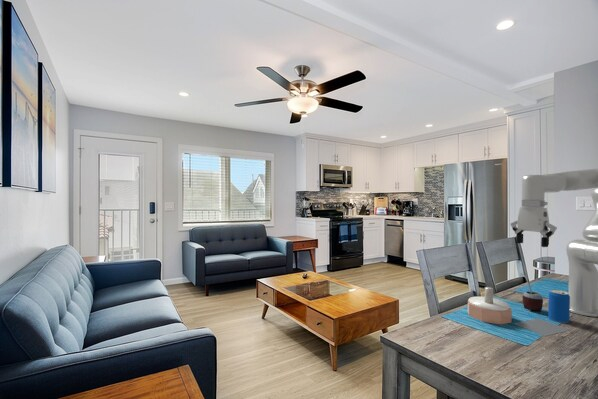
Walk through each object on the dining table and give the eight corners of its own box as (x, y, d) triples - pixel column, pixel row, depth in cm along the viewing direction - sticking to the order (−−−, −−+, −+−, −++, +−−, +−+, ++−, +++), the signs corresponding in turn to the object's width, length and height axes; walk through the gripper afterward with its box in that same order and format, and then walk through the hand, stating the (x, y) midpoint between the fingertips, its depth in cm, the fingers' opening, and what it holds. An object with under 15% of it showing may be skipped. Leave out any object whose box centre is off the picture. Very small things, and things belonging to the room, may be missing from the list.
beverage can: (573, 325, 117) (574, 295, 117) (554, 323, 119) (555, 293, 118) (562, 318, 124) (563, 289, 124) (544, 317, 125) (545, 288, 125)
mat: (538, 319, 122) (538, 318, 122) (570, 331, 112) (570, 329, 112) (513, 324, 117) (513, 323, 117) (544, 337, 107) (544, 336, 107)
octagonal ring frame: (484, 308, 134) (485, 296, 134) (518, 322, 120) (519, 308, 120) (460, 312, 129) (460, 300, 129) (492, 327, 115) (492, 313, 115)
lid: (485, 296, 133) (485, 281, 133) (518, 308, 120) (518, 291, 120) (461, 300, 128) (461, 284, 128) (492, 313, 115) (493, 295, 115)
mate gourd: (540, 315, 126) (541, 280, 126) (518, 310, 132) (518, 276, 132) (544, 311, 131) (545, 277, 131) (522, 306, 137) (523, 273, 137)
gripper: (562, 205, 118) (561, 248, 118) (517, 203, 134) (516, 241, 135) (550, 205, 115) (549, 249, 116) (505, 203, 132) (505, 242, 132)
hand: (531, 244), depth 125 cm, fingers open, 9 cm apart
